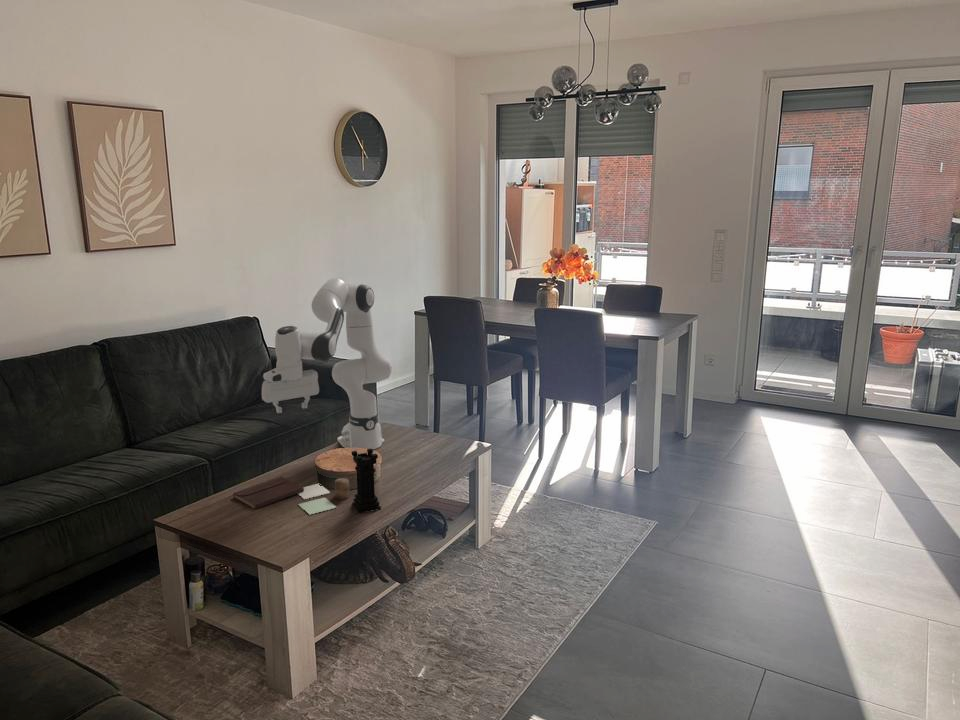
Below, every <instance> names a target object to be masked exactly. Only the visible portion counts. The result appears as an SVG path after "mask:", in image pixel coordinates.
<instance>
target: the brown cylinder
mask: <svg viewBox="0 0 960 720" xmlns="http://www.w3.org/2000/svg"><path fill="white" fill-rule="evenodd" d="M334 494H335V495H334V496H335V497H334V498H336V499H337V500H345V499H349V498H350V479H348V478H344V477H343V478H341V477H340V478H337V479H335V480H334Z"/></svg>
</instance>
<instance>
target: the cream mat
mask: <svg viewBox="0 0 960 720" xmlns="http://www.w3.org/2000/svg"><path fill="white" fill-rule="evenodd" d="M319 484H320V483H315V484H311V485H307V486H302V487H303V488H304V491H303V492H300V493H298V494H297V495H298V496H299V497H300V496H301V497H300V498H302V500H304V501H305V499H306V500H309V498H310V499H314V498H317V497H322V496H325V495H329V494H331V491H329V490H328V489H327V488H326V487H324V486H323V485H322V486H320V485H321V484H320V485H319ZM321 495H322V496H321ZM313 497H314V498H313Z"/></svg>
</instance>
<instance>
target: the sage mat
mask: <svg viewBox="0 0 960 720" xmlns="http://www.w3.org/2000/svg"><path fill="white" fill-rule="evenodd" d="M298 505H299V506H298ZM298 505H297V506H298V507H299V508H301V509H302V510H303V511H304V510H305V511H306V512H307V513H308V514H309V516H312V515H311V514H314V515H316V514H315V513H317V514H320V513H319V512H321V513H324V512H323V511H325V512H327V510H328V511H331V509H332V510H335V508H336V509H337V506H336V505H335V504H334V503H332V502H331V501H330V500H329V499H327V498H326V497H321V498H320V497H319V498H317V499H313V500H310V501H309V500H308V501H307V502H301V503H299V504H298ZM305 511H304V512H305ZM306 512H305V513H306ZM307 513H306V514H307ZM308 514H307V515H308Z"/></svg>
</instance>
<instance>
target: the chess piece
mask: <svg viewBox="0 0 960 720" xmlns="http://www.w3.org/2000/svg"><path fill="white" fill-rule="evenodd" d="M378 455H379V454H378V453H374V449H372V448H371V449H367V451H366V452H363V453H358V451H357V450H351V456H352V458H353V459H352V460H353V462H354V463H355V464H356V466H354V469H355V472H356V487H357V488H356V490H357V491H356V494H354V498H353V502H351V505H352V506H353V508H354V507H355V508H354V509H355V510H357V511H356V513H357V514H363V513H362V512H364V513H367V512H366V511H369V512H372V511H371V510H374V511H377V510H376V509H380V510H381V509H382V508H381V506H380V502H379V499H378V496H377V495H376V494H375V493H376V492H375V473H376V469H375V466H374V465H377V464H378V463H377V459H378V458H379V456H378Z"/></svg>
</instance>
